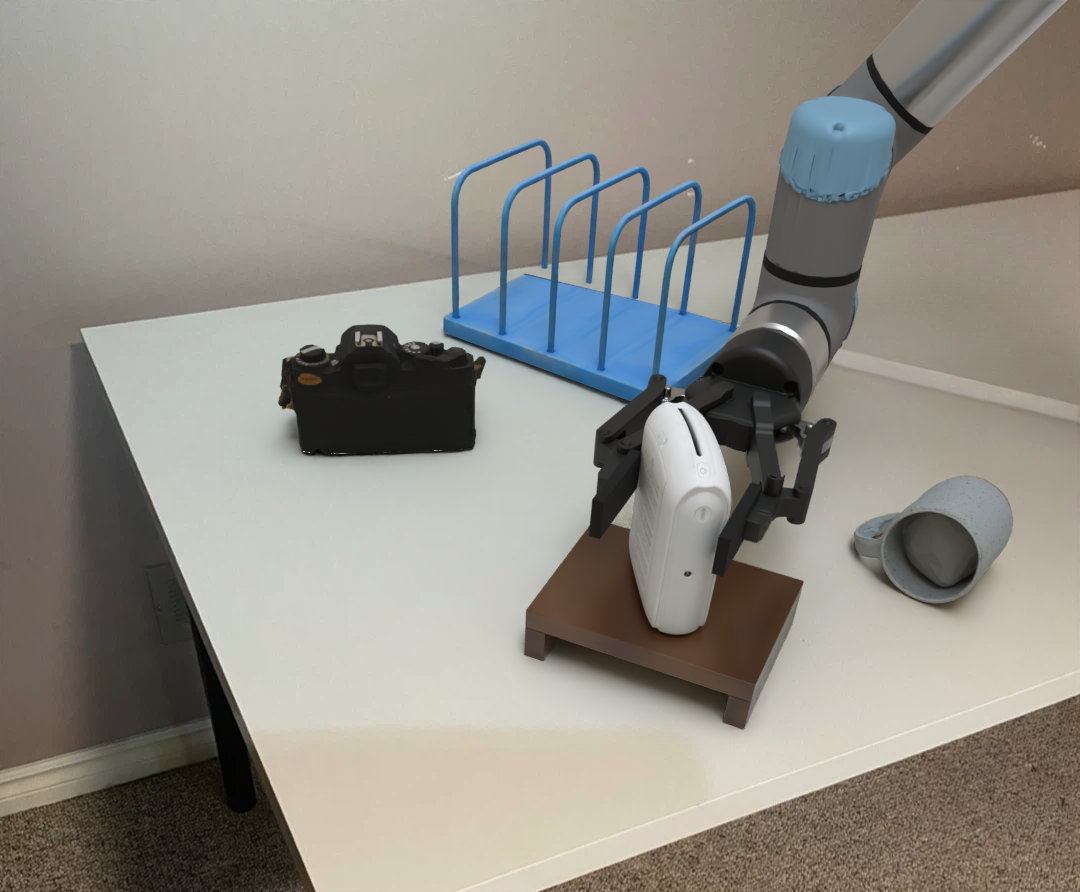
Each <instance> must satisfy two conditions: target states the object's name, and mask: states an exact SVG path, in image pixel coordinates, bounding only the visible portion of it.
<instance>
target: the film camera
mask: <svg viewBox="0 0 1080 892" xmlns="http://www.w3.org/2000/svg"><path fill="white" fill-rule="evenodd" d="M486 363H487V359H486V358H485V357H484V356H483V355H481V356H478V357H477V358H476V359H474V354H472V353H470V352H467V351H466V349H464V348H463V347H458V346H451V347H449V348H448V349H447V348H446V349H445V343H444V342H440V341H437V340H434V341H432V342H429V343H426V342H424V341H416V340H415V341H413V340H412V341H409V342H406V343H403V344H401V343H400V341H399V338H398V335H397V334H396V333H395V332H394V331H393V330H391V329H390V327H388V326H387V325H383V324H375V323H373V324H371V323H370V324H367V323H366V324H355V325H351V326H349V327H348V328H347V329H346V330H344V332H342V333H341V336H340V341H339V344H338V345H336V346H335V349H334V352H326V349H325V348H323V347H321V346H319V345H315V344H305V345H304V346H302V347H300V348H299V352H297V353H296V354H295V355H291V356H286V357H285V358H282V360H281V371H280V372H281V373H280V376H281V379H280V384H279V388H280V394H279V396H278V401H277V404H278V406H279V407H281V410H286V409H287V410H291V411H293V412H294V413H295V417H296V425H297V432H298V444H299V447H300V450H301V449H302V450H301V452H302V451H305V452H310V453H314V452H315V451H316V450H319V451H320V452H321V453H323V454H325V455H328V454H331V453H332V454H334V453H356V454H357V455H362V454H361V453H365V454H367V453H369V454H371V453H372V454H374V453H377V454H384V453H383V452H387V453H386V454H389V453H388V452H400V453H403V452H404V453H405V452H406V453H419V452H418V451H422V452H426V451H434V450H438V451H439V450H443V451H442V452H453V451H452V450H456V451H464V449H465V450H470V449H469V448H471V449H474V448H475V445H474V444H476V443H475V442H476V438H477V429H476V418H475V417H476V387H477V382H478V380H481V379H482V374H483V371H484V368H485V365H486ZM461 449H462V450H461ZM446 450H447V451H446ZM439 452H440V451H439ZM358 453H360V454H358ZM356 454H355V455H356ZM334 455H335V454H334Z"/></svg>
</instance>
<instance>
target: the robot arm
mask: <svg viewBox="0 0 1080 892" xmlns="http://www.w3.org/2000/svg"><path fill="white" fill-rule="evenodd" d="M1067 1H1068V0H919V1H918V2H917V4H916V5H914V7H913V8H911V10H910V11H909V12H908V13H907V14H906V15H905V16H904V17H903V19H901V20H900V22H899V23H898V24H897V25H896V26H895V27H894V28H893V29H892V30H891V31H890V32H889V33H888V34H887V35H886V37H885V38H883V40H882V41H880V43H879V44H878V45H877V46H876V47H875V48H874V49H873V51H872V53H871V54H870V55H869V56H868V57H867V58H866V59H865V60H864V61H863V62H862V63H860V64H859V65H858V67H856V69H855V70H854V71H852V73H851V74H850V75H849V76H848V77H847V78H846V80H844V81H843V82H841V83H840V84H838V85H836V86H834V88H832V89H831V90H830V91H829V93H827V94H826V96H818V97H815V98H814V99H810V100H805V101H803V102H801V103H800V104H799V105H798V106H797V107H796V108H795V109H794V110H793V112H792V114H791V117H790V121H789V125H788V129H787V133H786V138H785V141H784V144H783V148H782V149H781V151H780V155H779V160H778V164H779V170H778V175H777V182H776V187H775V188H776V189H775V193H774V200H773V205H772V210H771V216H770V223H769V228H768V234H767V239H766V245H765V249H764V251H763V257H762V262H761V266H760V272H759V279H758V283H757V288H756V293H755V299H754V303H753V305H752V307H751V309H750V310H749V312H748V314H747V315H746V316H745V318H743V320H742V321H741V323H740V324H739V326H737V329H736V331H735V332H734V333H733V334H732V336H731V337H730V338H729V339H728V341H727V342H726V344H725V345H724V347H723V348H722V349H721V350H720V352H719V353H718V354H717V356H716V357H715V358H714V360H713V361H712V362H711V364H710V365H709V367H708V368H707V370H706V371H705V373H704V375H702V376H701V377H700V379H698V380H696V381H695V382H693V383H691V384H690V385H689V386H688V387H687V388H685V389H682V388H675V387H671V386H670V385H666V382H667V378H666V377H665V376H664V375H661V374H654V375H651V377H650V379H649V382H648V386H647V388H646V389H645V390H644V391H643V392H641V393H640V394H639V395H638V396H637V397H635V398H634V399H633V400H632V401H629V402H628V403H627V404H626V405H624V406H623V407H622V408H621V409H620V410H618V411H617V412H616V413H615V414H614V415H612V416H611V417H609V419H607V420H606V421H605V422H604V423H602V424H601V425H600V426H599V427H598V428H597V429H596V430H595V439H594V450H593V458H592V459H593V461H592V463H593V466H594V467H596V468H598V469H599V470H598V472H597V481H596V492H595V495H594V496H593V498H592V499H591V506H590V507H591V508H590V519H589V526H590V528H589V536H591V537H594V538H597V539H600V538H601V537H602V536H603V534H604V533H605V532H606V530H607V529H608V527H609V526H610V525H611V524H613V523H614V521H615V519H616V518H617V517H618V516H619V514H620V512H622V509H624V507H625V506H626V504H627V503H628V502H629V500H630V499H631V498H632V496H633V494H635V491H636V489H637V487H638V479H639V471H640V463H641V455H642V452H641V448H642V440H643V433H644V427H645V424H646V421H647V419H648V417H649V416H650V414H651V413H652V412H653V410H654V409H655V408H657V407H658V406H659V405H661V404H663V403H665V402H670V403H680V402H685V403H687V404H689V405H691V406H692V407H694V408H695V409H696V410H697V411H698V412H699V413H700V414H701V415H702V416H703V417H704V418H705V420H706V421H707V423H708V424H709V426H710V428H711V429H712V431H713V433H714V435H715V437H716V440H717V442H718V444H719V446H725V447H728V448H729V449H731V450H734V451H736V452H737V451H738V452H741V453H744V457H745V463H746V464H745V465H746V468H748V469H749V475H750V483H749V484H748V486H747V487H746V489H745V491H744V493H742V494H743V495H742V496H741V498H740V499H739V501H738V503H737V505H736V506H735V508H734V510H733V511H732V513H731V515H729V520H728V522H727V523H726V525H725V527H724V528H723V530H722V532H721V533H720V535H719V537H718V542H717V547H716V552H715V557H714V562H713V567H712V572H711V573H712V574H715V575H718V576H722V577H723V576H724V575H725V573H726V571H727V569H728V567H729V566H730V564H731V562H732V560H734V559H735V557H736V555H737V553H738V551H739V550H740V548H741V546H742V544H743V542H744V541H747V542H750V543H753V544H758V543H759V542H761V541H763V539H764V538H765V535H766V533H767V531H768V529H769V527H770V526H771V524H772V522H774V521H775V520H776V519H777V518H786V521H787V522H788V523H789V524H792V525H794V526H795V525H796V526H801V525H803V524H804V523H805V522H806V519H807V515H808V511H809V508H810V504H811V500H812V496H813V493H814V488H815V483H816V481H817V480H816V478H817V475H818V470H819V466H820V465H821V463H823V462H824V461H825V460H826V459H827V458H828V457H829V456H830V451H831V448H832V445H833V441H834V437H835V433H836V429H837V426H838V423H837V421H836V420H835V419H832V418H829V417H822V418H820V419H819V420H818V421H816V422H815V423H814V422H809V421H807V420H804V419H802V417H803V415H802V413H803V412H804V410H805V408H806V407H807V404H808V403H809V401H810V398H811V397H812V395H813V394H814V392H815V390H816V388H817V387H818V385H819V383H820V382H821V380H822V378H823V377H824V375H825V372H826V371H827V369H828V367H829V366H830V364H831V362H832V360H833V359H834V358H835V356H836V354H837V353H838V350H840V349H841V348H842V346H843V343H844V342H845V341H846V340H847V339H848V338H849V336H850V333H851V332H852V328H853V325H854V322H855V318H856V315H857V312H858V307H859V292H858V286H859V282H860V278H861V272H862V269H863V262H864V258H865V255H866V251H867V248H868V244H869V240H870V237H871V233H872V229H873V226H874V222H875V218H876V216H877V215H876V214H877V211H878V208H879V203H880V201H881V198H882V195H883V193H884V190H885V187H886V184H887V182H888V179H889V177H890V174H891V171H892V170H893V169H894V168H895V166H896V165H897V164H898V163H900V162H901V160H903V159H904V158H905V157H906V156H907V155H908V154H909V153H910V152H911V151H912V150H913V149H914V148H916V146H917V145H918V144H919V143H921V141H922V140H923V139H924V138H925V137H927V135H928V134H929V133H930V132H931V131H932V130H933V129H934V128H935V126H936V125H938V124H939V123H940V122H941V121H942V120H943V119H944V118H945V117H946V116H947V115H948V114H949V113H950V112H951V111H952V110H954V108H955V107H957V106H958V105H959V104H960V103H961V102H962V101H963V100H964V99H965V98H966V97H968V95H969V94H970V93H972V91H974V90H975V89H976V88H977V87H978V86H979V85H980V84H981V83H982V82H983V81H984V80H985V79H986V78H987V77H988V76H989V75H990V74H991V73H992V72H994V71H995V69H997V68H998V67H999V66H1000V65H1001V64H1002V63H1003V62H1004V61H1005V60H1006V59H1008V57H1009V56H1010V55H1011V54H1013V53H1014V52H1015V51H1016V50H1017V48H1019V47H1020V46H1021V45H1022V44H1023V43H1024V42H1025V41H1026V40H1027V39H1028V38H1029V37H1030V36H1031V35H1033V33H1035V32H1036V31H1037V30H1038V29H1039V28H1040V27H1041V26H1042V25H1043V24H1044V23H1045V22H1046V21H1047V20H1048V19H1050V18H1051V16H1052V15H1054V13H1056V12H1057V11H1058V10H1059V9H1060V8H1061V7H1062V6H1063V5H1064V4H1065V3H1067ZM794 439H796V440H797V442H796V446H797V448H798V449H799V451H798V455H799V457H800V459H799V463H798V467H797V468H798V469H797V472H796V477H795V480H794V483H793V487H784V484H785V479H786V474H783V476H782V472H781V468H780V462H779V457H778V452H777V446H776V445H780V444H783V443H786V442H790V441H792V440H794Z"/></svg>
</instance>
